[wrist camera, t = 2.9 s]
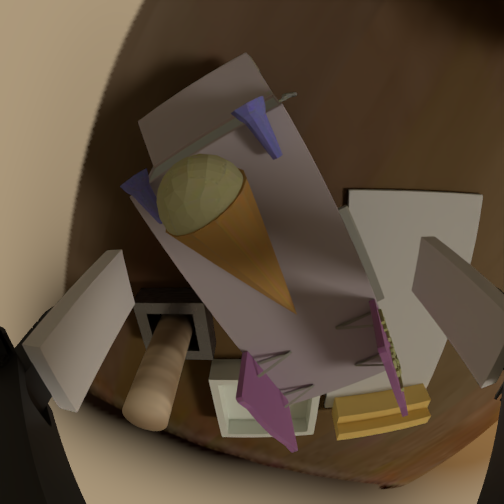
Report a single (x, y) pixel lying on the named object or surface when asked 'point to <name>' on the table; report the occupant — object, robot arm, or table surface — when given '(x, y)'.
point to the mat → (408, 270)
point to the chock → (379, 412)
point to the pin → (159, 373)
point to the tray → (239, 418)
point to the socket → (176, 302)
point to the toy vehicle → (263, 244)
